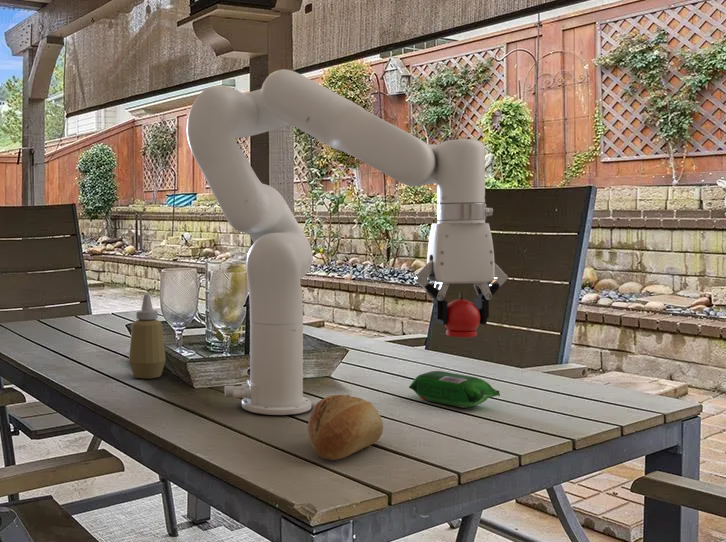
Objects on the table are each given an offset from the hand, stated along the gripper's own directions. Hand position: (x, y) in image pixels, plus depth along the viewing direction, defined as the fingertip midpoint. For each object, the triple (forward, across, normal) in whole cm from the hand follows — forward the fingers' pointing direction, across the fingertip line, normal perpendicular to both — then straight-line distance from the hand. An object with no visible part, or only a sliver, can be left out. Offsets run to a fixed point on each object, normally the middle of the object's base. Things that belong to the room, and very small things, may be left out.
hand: (461, 322), depth 125 cm
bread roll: (+17, +24, +14) cm, 32 cm away
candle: (+2, 0, 0) cm, 2 cm away
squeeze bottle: (+17, +52, -43) cm, 70 cm away
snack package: (+17, -4, -14) cm, 22 cm away
